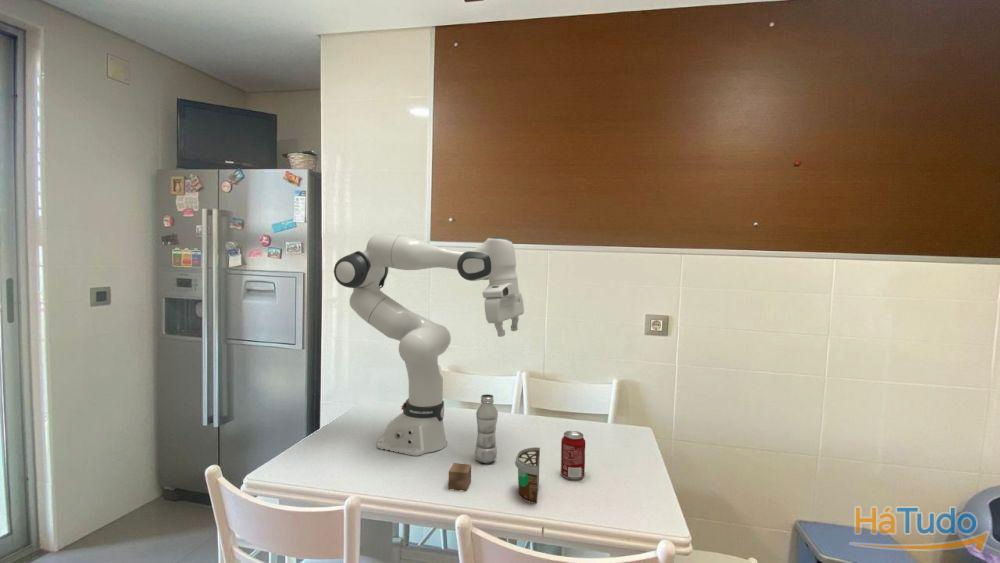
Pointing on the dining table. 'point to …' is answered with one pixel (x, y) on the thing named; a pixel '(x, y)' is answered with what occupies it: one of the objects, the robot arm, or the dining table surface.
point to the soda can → (573, 455)
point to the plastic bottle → (486, 430)
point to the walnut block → (459, 476)
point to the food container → (528, 473)
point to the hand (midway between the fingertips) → (508, 333)
